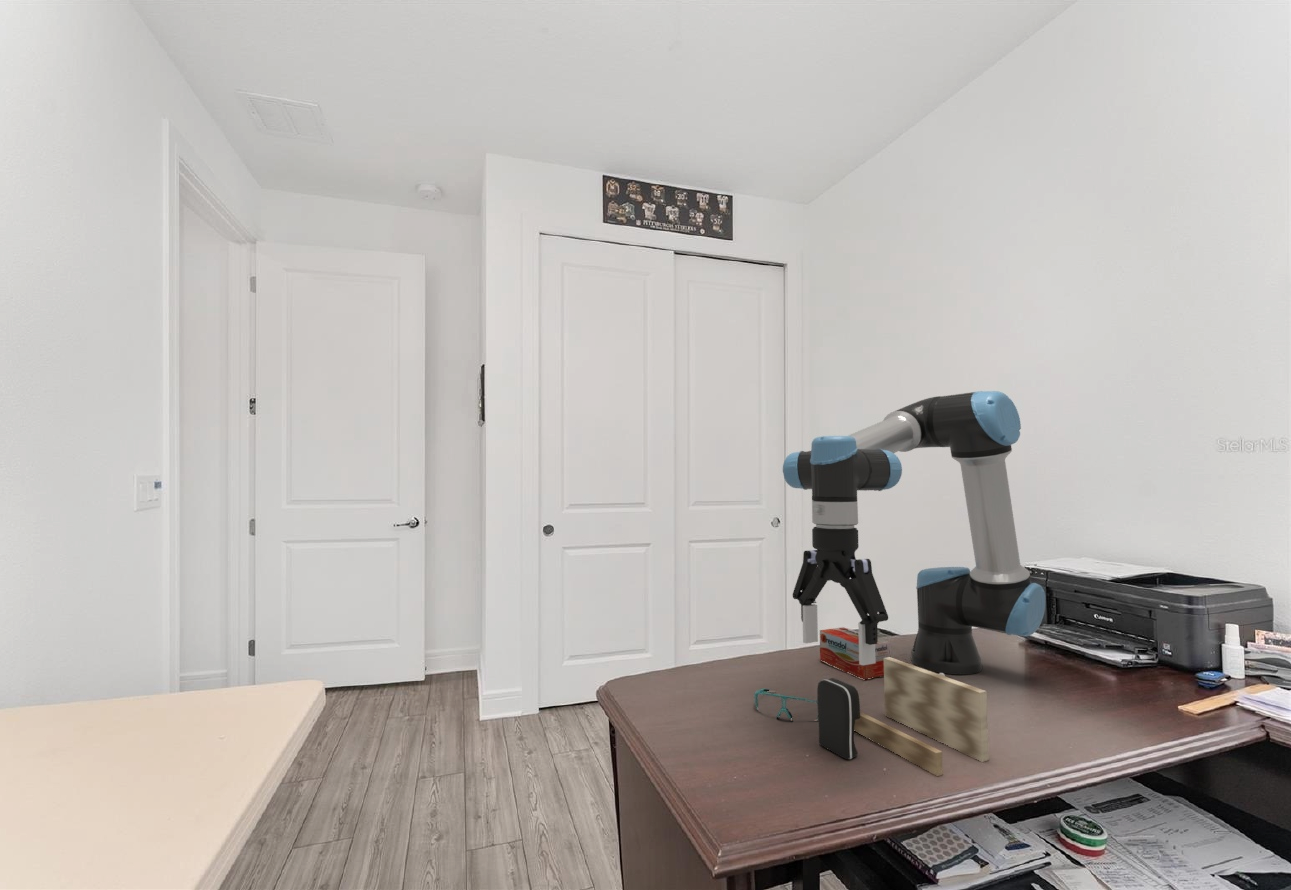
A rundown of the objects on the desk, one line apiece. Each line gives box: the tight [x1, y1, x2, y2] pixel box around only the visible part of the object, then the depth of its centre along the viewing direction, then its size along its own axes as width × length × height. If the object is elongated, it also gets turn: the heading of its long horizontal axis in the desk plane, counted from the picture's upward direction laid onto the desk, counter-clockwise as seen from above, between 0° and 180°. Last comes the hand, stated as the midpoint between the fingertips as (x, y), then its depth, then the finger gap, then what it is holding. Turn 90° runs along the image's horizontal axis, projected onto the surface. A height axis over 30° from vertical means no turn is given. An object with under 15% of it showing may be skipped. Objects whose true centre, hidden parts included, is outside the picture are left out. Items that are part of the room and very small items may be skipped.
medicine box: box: [819, 626, 891, 679], centre depth 142 cm, size 15×8×8 cm, turn 25°
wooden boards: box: [854, 656, 990, 777], centre depth 104 cm, size 20×12×11 cm, turn 25°
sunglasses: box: [754, 687, 818, 720], centre depth 119 cm, size 14×15×5 cm
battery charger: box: [816, 678, 861, 760], centre depth 101 cm, size 7×4×11 cm, turn 27°
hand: (837, 652), depth 101 cm, fingers open, 13 cm apart
